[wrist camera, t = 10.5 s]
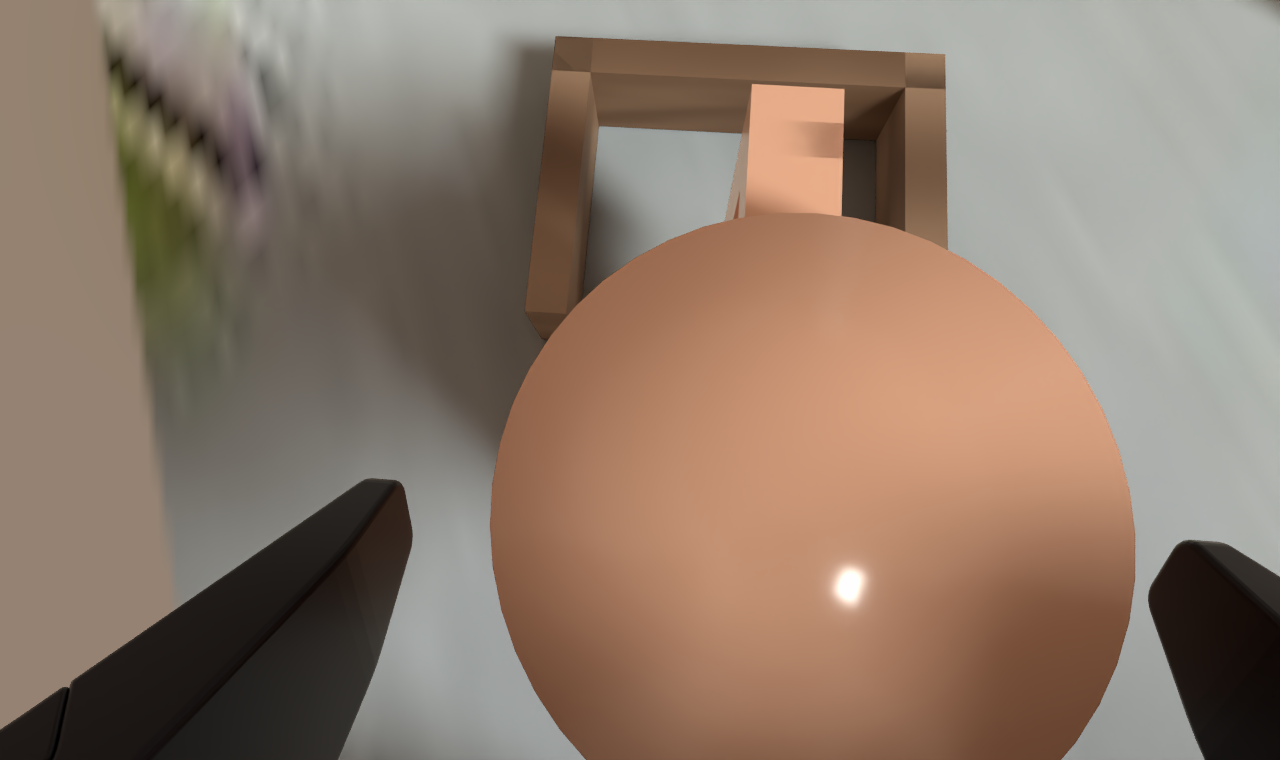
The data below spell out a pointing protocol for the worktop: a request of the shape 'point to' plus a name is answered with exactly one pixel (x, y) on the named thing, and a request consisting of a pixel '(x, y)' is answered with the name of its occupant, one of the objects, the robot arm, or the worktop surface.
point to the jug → (810, 492)
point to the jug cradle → (717, 102)
